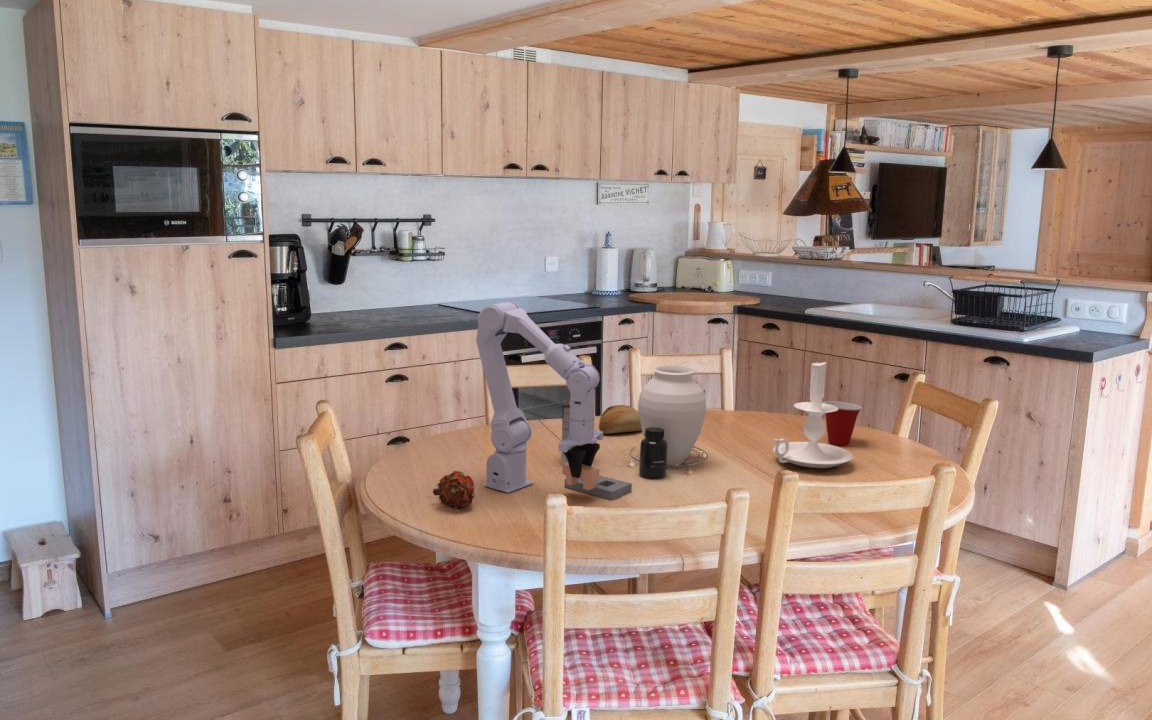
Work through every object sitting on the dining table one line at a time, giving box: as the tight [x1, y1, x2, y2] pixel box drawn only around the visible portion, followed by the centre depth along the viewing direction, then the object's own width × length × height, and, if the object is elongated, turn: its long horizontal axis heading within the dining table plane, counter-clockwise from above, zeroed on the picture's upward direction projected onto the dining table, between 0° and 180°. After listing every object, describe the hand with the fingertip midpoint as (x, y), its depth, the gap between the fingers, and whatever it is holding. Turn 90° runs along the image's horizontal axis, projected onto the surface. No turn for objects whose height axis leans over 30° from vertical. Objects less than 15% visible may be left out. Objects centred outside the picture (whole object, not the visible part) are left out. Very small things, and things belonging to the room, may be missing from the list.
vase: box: [637, 365, 707, 466], centre depth 234 cm, size 18×18×25 cm
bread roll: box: [598, 404, 642, 435], centre depth 264 cm, size 10×15×8 cm, turn 123°
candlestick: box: [772, 360, 854, 469], centre depth 233 cm, size 21×25×28 cm
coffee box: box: [561, 397, 570, 465], centre depth 233 cm, size 9×6×16 cm
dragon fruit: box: [432, 470, 475, 510], centre depth 199 cm, size 8×8×12 cm
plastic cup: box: [822, 400, 863, 447], centre depth 256 cm, size 11×11×12 cm
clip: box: [562, 462, 600, 490], centre depth 206 cm, size 3×8×5 cm, turn 52°
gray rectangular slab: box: [564, 474, 633, 501], centre depth 212 cm, size 8×14×2 cm, turn 53°
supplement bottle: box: [638, 427, 668, 480], centre depth 223 cm, size 7×7×12 cm
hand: (580, 475), depth 206 cm, fingers closed on clip, 3 cm apart
